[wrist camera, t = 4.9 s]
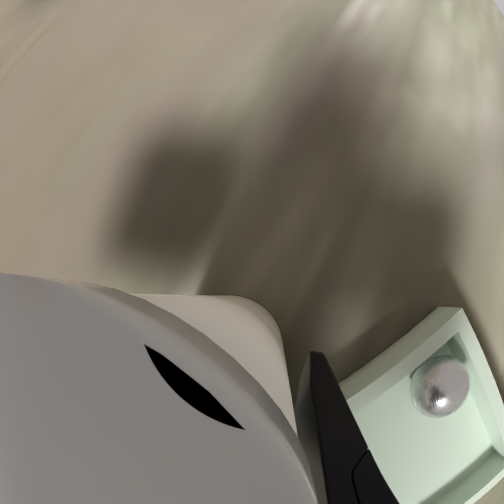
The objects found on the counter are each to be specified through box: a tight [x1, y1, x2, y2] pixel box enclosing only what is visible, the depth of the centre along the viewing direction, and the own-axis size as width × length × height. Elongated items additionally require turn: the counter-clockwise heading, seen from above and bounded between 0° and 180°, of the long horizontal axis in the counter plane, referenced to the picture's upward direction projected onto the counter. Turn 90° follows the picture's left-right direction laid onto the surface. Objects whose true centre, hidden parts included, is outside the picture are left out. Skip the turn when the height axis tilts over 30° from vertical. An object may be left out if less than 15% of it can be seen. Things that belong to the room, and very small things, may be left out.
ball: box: [410, 355, 470, 418], centre depth 12 cm, size 3×3×3 cm
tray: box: [338, 307, 504, 504], centre depth 13 cm, size 13×13×3 cm
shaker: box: [0, 273, 318, 504], centre depth 9 cm, size 5×5×14 cm
